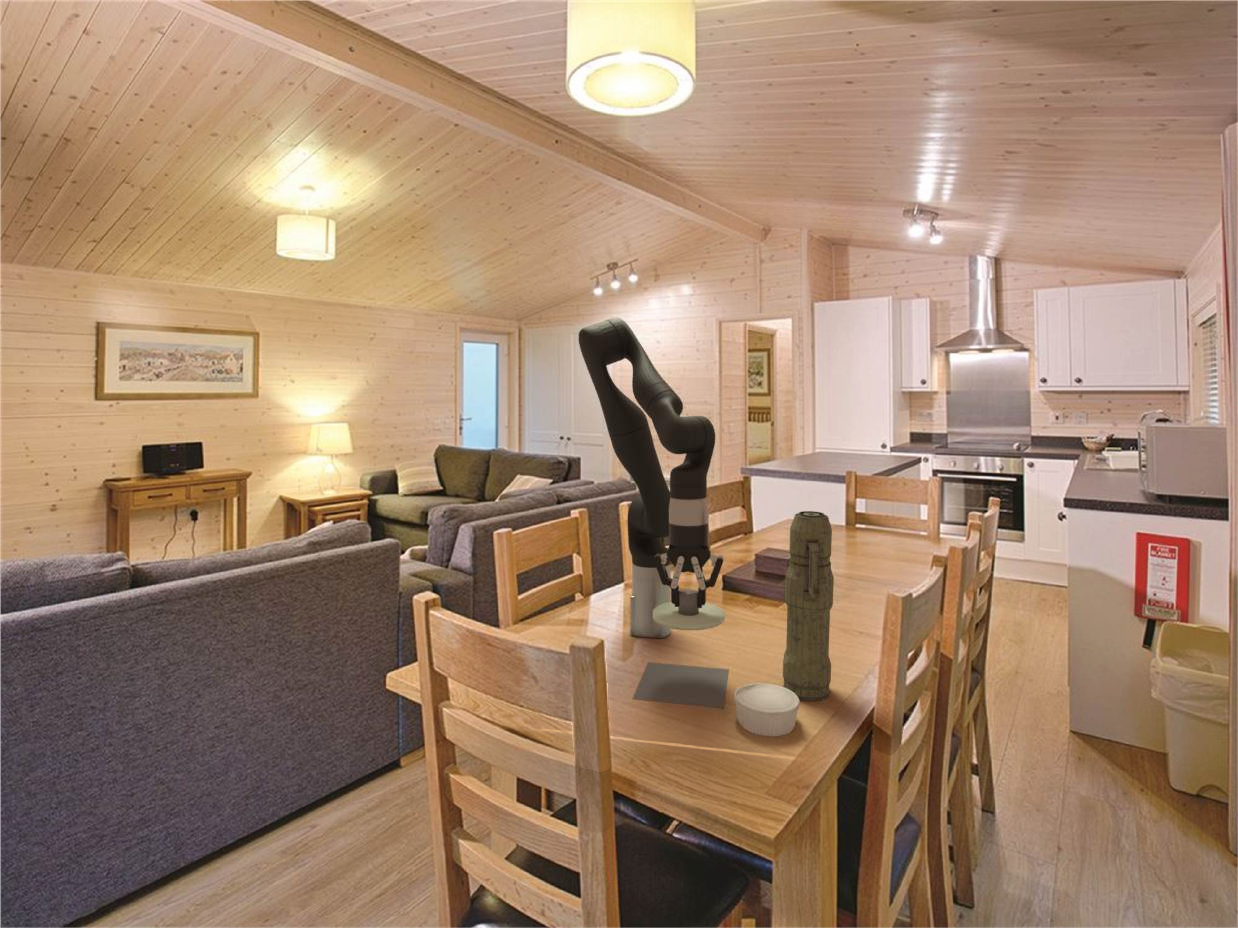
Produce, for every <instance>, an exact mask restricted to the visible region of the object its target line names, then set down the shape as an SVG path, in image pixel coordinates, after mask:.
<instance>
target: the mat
mask: <svg viewBox="0 0 1238 928" xmlns="http://www.w3.org/2000/svg"><path fill="white" fill-rule="evenodd" d="M729 672H730V671H729V668H718V667H710V666H709V667H707V666H696V665H695V666H694V665H687V664H686V665H684V664H672V663H662V662H661V663H660V662H650V661H648V662H647V665H646V666H645V668H644V671H643V673H642V676H641V678H640V680H639V683H638V685H637V687H636V688H635V689H636V690H635V691H634V694H633V696H632V700H637V701H648V702H657V703H666V704H667V703H668V704H678V705H685V706H686V705H687V706H699V707H706V708H707V707H708V708H718V709H719V708H720V709H724V708H725V703H726V702H725V701H726V696H727V695H726V694H727V687H728V686H727V685H728V678H729Z"/></svg>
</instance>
